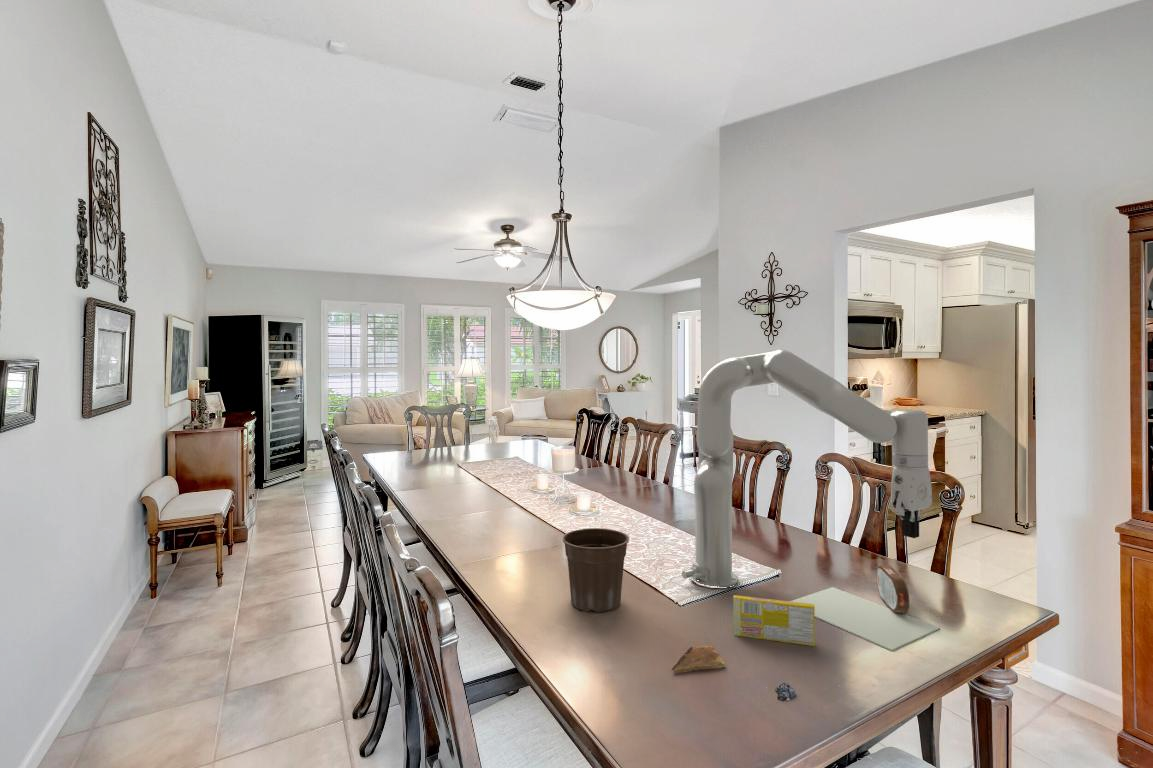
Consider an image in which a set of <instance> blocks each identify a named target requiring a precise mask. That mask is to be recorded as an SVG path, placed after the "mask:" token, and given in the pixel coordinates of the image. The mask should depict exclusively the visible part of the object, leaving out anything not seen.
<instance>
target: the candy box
mask: <svg viewBox="0 0 1153 768" xmlns="http://www.w3.org/2000/svg"><path fill="white" fill-rule="evenodd" d="M732 600H733V603H732V604H733V605H732V608H733V611H732V613H733V615H732V616H733V620H732V621H733V623H732V625H733V626H732V628H733V629H732V632H733V633H732V634H733V636H738V637H744V638H752V639H758V640H766V641H773V642H774V641H775V642H782V643H786V644H787V643H789V644H794V645H796V644H797V645H801V646H809V647H815V646H816V635H815V633H816V630H815V620H816V619H815V618H816V617H815V606H814V604H808V603H799V602H790V601H791V600H790V601H789V600H788V601H787V600H782V599H781V600H779V599H770V598H761V597H752V596H745V595H738V594H737V595H735V594H734V595H733V598H732Z"/></svg>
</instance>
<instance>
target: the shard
mask: <svg viewBox="0 0 1153 768" xmlns="http://www.w3.org/2000/svg"><path fill="white" fill-rule="evenodd" d="M722 667H726V664H725V661H724V660H723V657H722V656H721V655H720V654H719V653H718V651H717V650H716V649H715V647H714V646H713V645H705V646H694V647H693V646H690V647H688V649H687V650H686V652H684V654H683V655H681V656H680V658H679V659H678V661H677V662H676V664H675V665H674V666H673V667H672V668H671V671H673V673H677V672H683V673H686V672H685V671H688V672H691V671H690V670H695V671H698V670H699V669H703V670H709V668H710V670H711V668H712V669H713V668H714V669H722ZM677 674H678V673H677Z"/></svg>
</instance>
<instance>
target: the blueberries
mask: <svg viewBox="0 0 1153 768" xmlns="http://www.w3.org/2000/svg"><path fill="white" fill-rule="evenodd" d="M767 688H768V687H765V690H766V689H767ZM775 693H776V694H777V700H778V701H781V702H786V701H790V700H792V699H796V698H795V697H796V696H797V695H796V691H795V690H794V688H792V687H791V686H790V685H789V683H787V682H783V683H781V684H780V685H779V686H777V687H776V688H775Z"/></svg>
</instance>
